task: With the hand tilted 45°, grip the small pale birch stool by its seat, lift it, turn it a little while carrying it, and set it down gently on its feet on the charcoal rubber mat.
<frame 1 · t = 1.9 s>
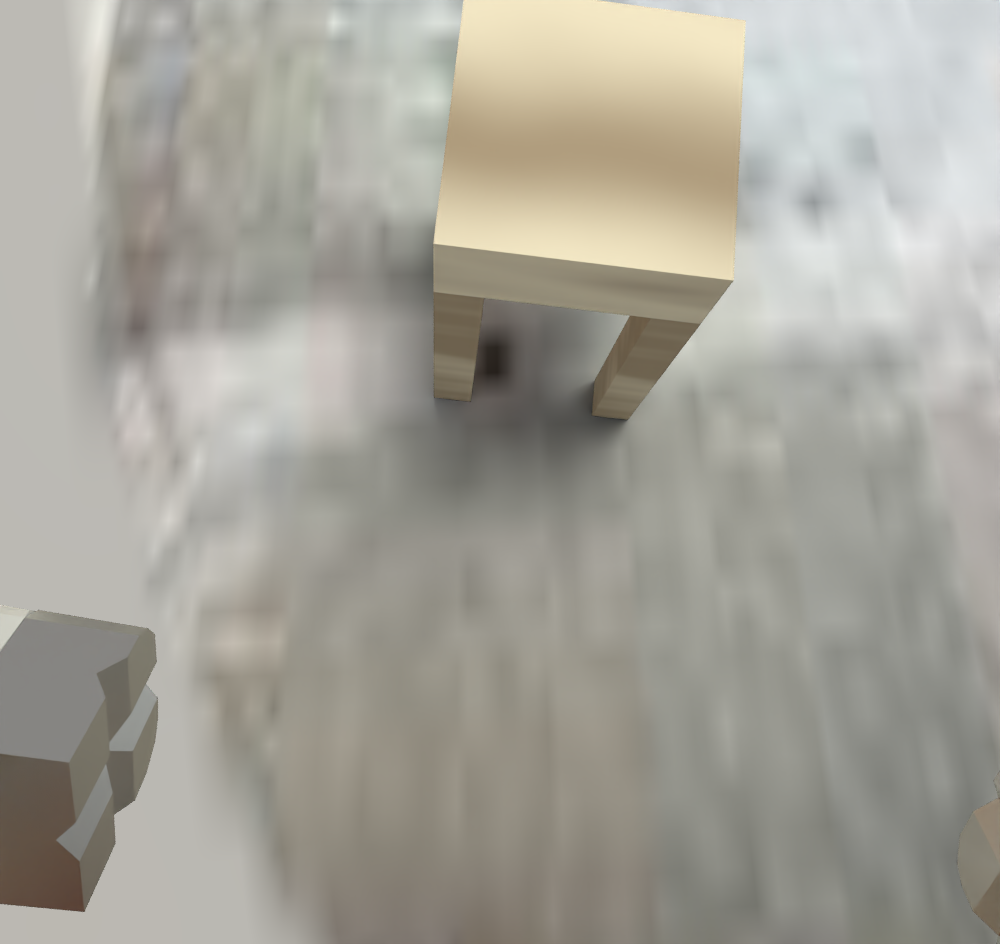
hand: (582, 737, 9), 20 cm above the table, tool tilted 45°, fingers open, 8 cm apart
stool: (540, 317, 31), on the table
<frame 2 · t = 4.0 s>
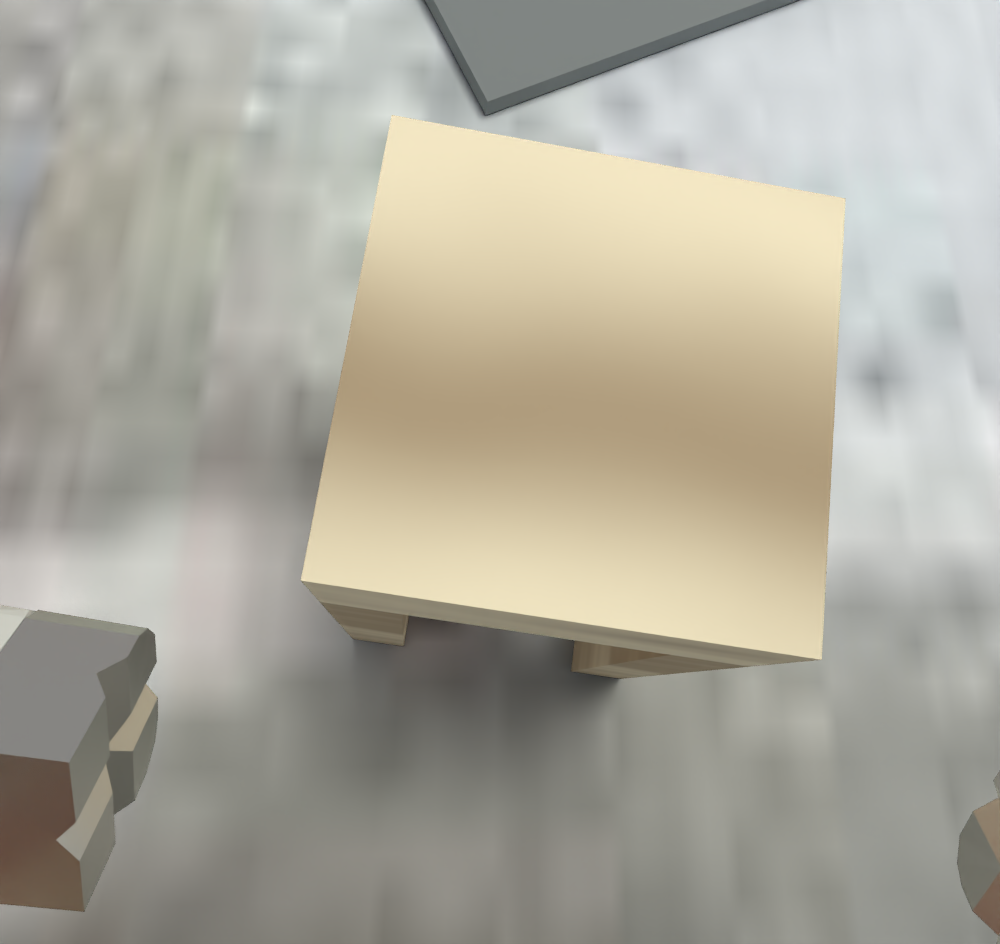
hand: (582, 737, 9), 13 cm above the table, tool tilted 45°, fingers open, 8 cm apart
stool: (506, 526, 23), on the table
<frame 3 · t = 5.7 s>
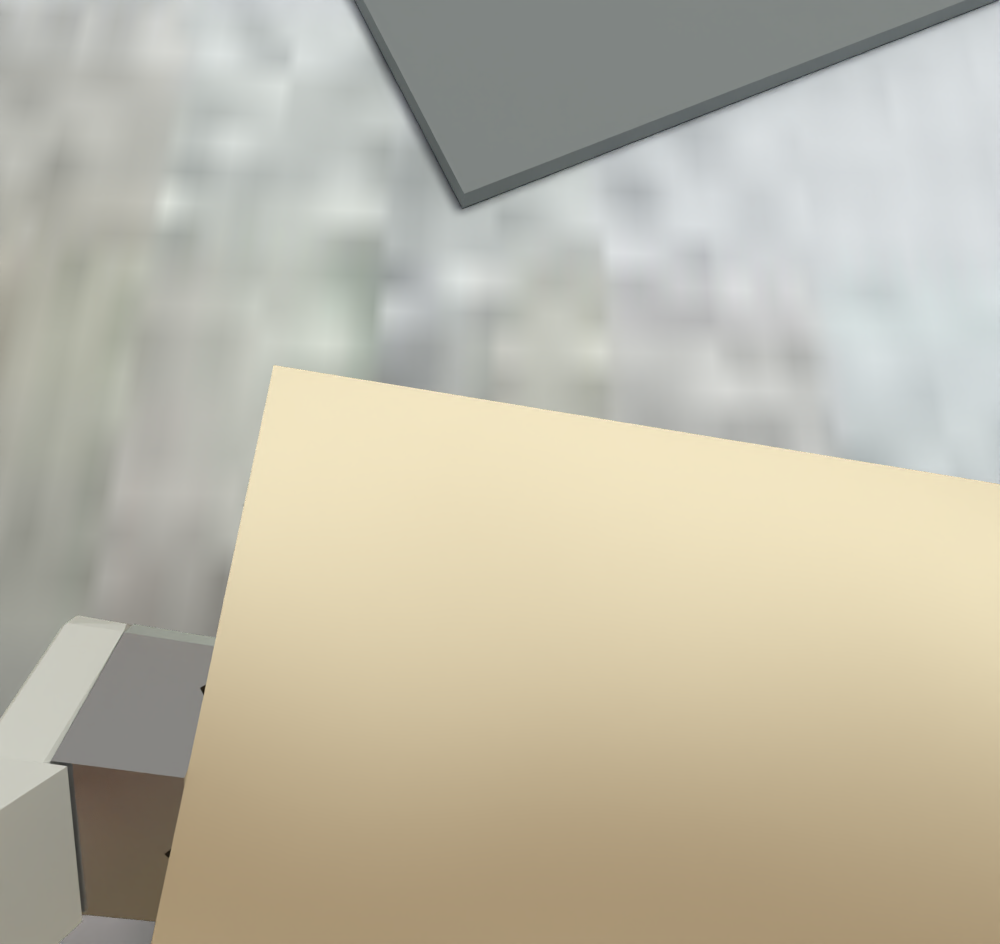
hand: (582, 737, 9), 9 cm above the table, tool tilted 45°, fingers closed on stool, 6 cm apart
stool: (487, 752, 17), on the table, touching gripper
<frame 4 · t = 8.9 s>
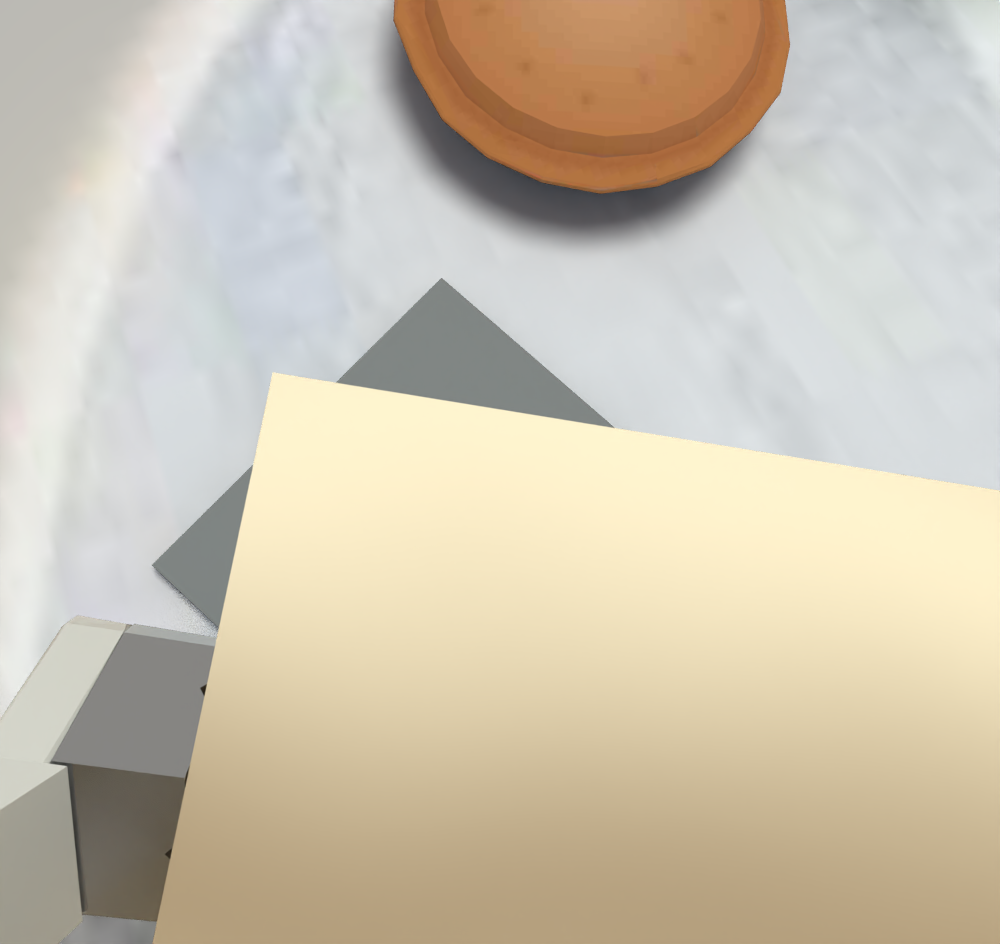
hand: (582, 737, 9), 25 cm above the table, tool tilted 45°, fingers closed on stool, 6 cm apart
mat: (455, 552, 34), on the table
pie: (578, 70, 39), on the table
stool: (487, 756, 17), point 15 cm above the table, touching gripper
when the fingers open (11 cm above the table, at t = 11.9 s): stool drops 2 cm, resting on mat.
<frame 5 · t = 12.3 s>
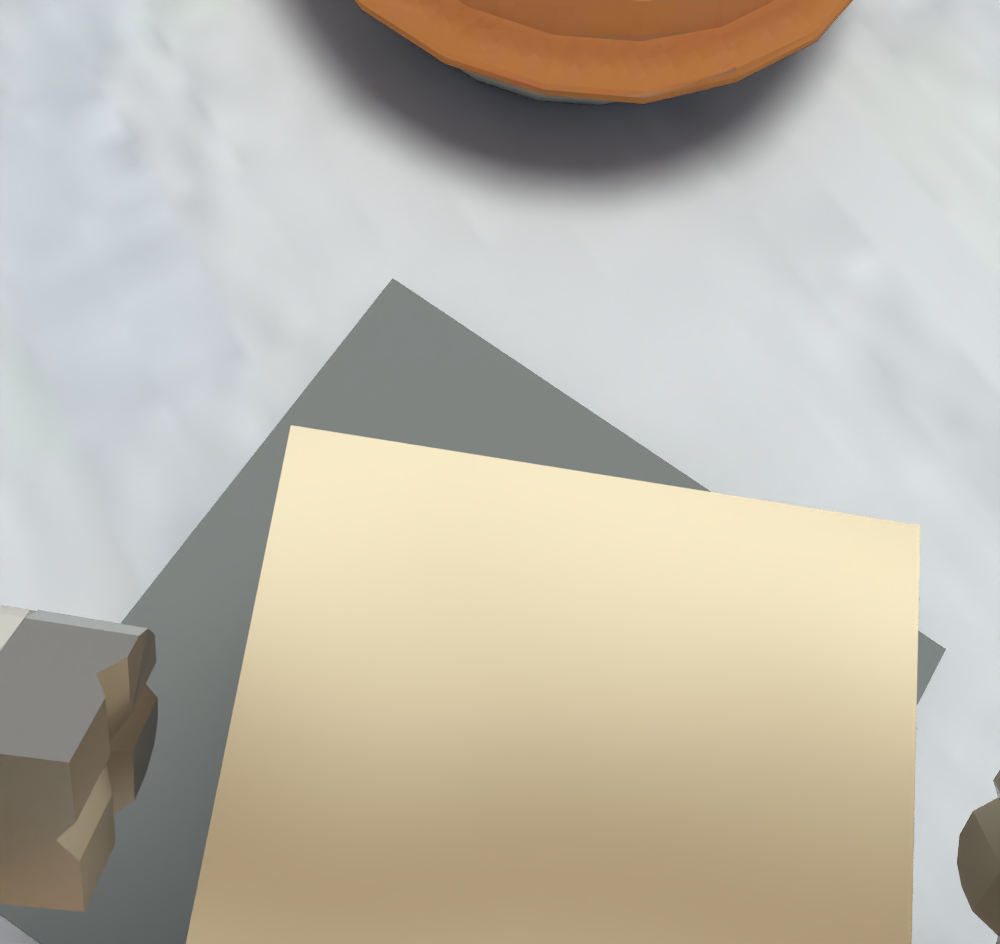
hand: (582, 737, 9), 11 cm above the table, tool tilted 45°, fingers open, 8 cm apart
mat: (476, 746, 20), on the table
stool: (478, 750, 19), point 1 cm above the table, touching mat
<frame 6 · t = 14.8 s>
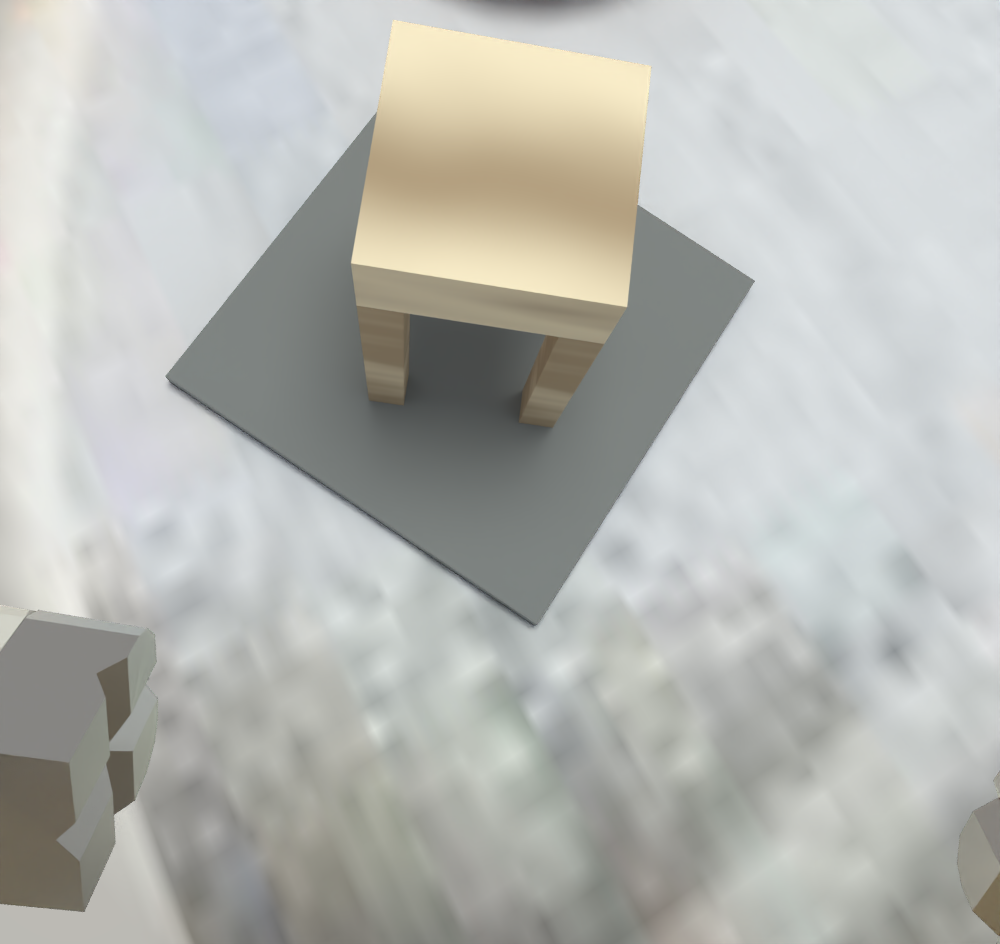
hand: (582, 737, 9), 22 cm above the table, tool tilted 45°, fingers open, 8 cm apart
mat: (472, 332, 33), on the table
stool: (473, 327, 33), point 1 cm above the table, touching mat
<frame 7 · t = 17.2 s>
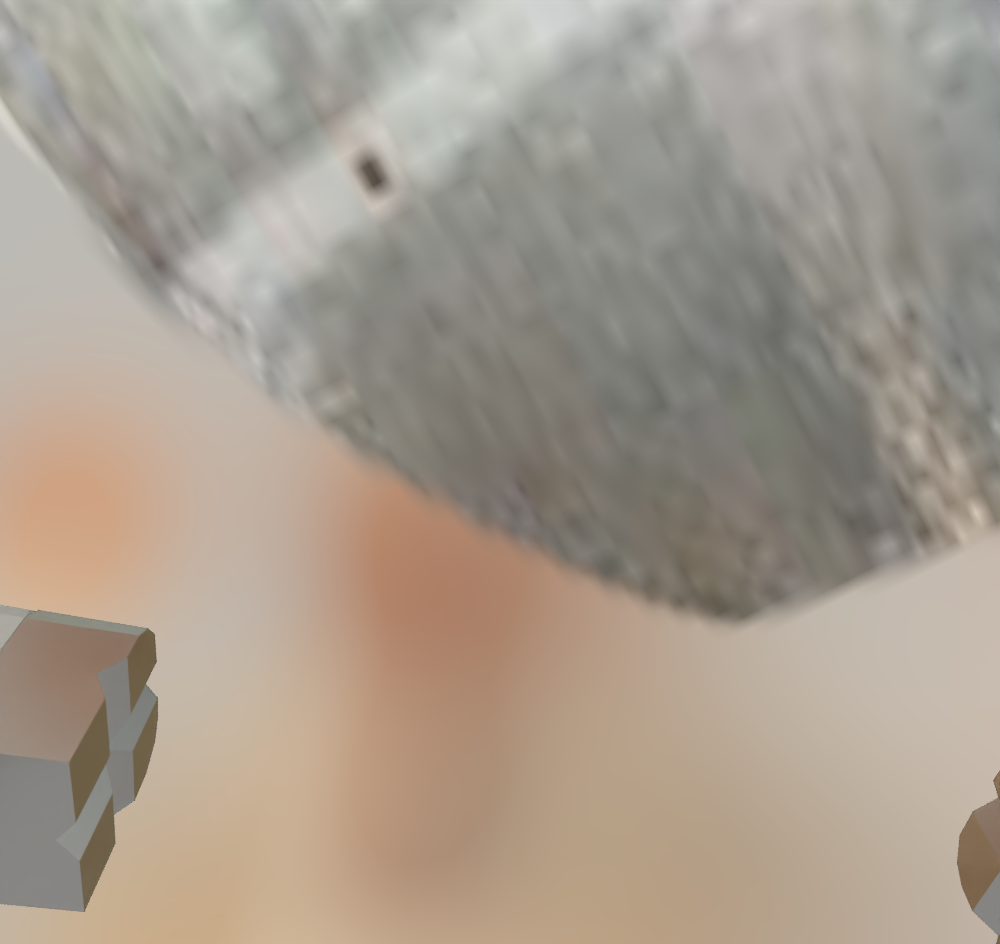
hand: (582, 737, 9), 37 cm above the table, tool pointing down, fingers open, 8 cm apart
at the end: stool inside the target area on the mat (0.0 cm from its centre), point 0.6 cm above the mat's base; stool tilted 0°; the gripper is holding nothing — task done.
